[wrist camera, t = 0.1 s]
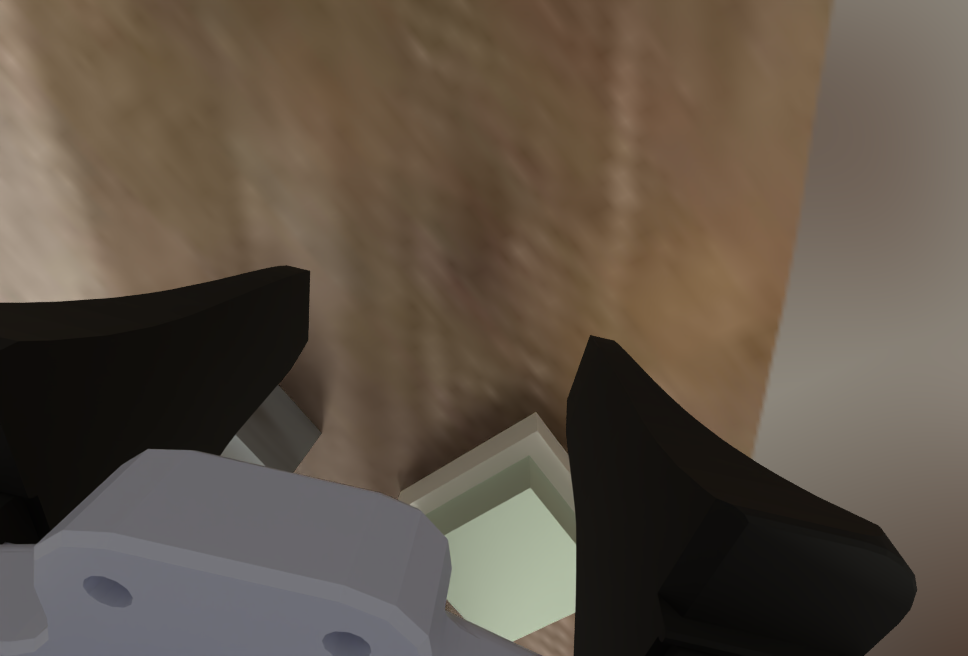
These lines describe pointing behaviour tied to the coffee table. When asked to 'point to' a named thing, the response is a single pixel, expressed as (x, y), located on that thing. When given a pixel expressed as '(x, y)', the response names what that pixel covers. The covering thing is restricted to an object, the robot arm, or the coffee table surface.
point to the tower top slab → (511, 552)
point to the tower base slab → (495, 465)
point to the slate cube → (274, 435)
